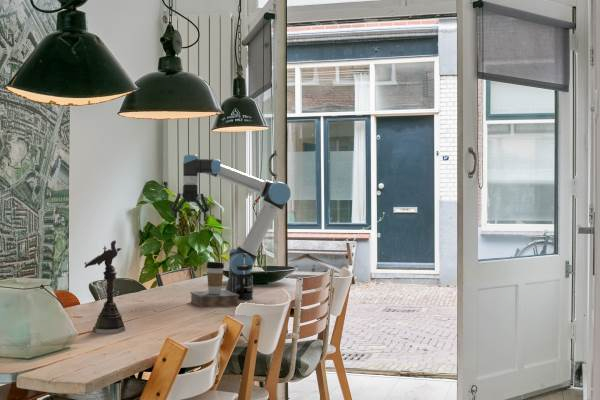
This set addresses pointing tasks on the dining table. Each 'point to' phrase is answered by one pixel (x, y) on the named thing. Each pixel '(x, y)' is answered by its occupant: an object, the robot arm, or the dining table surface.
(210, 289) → the coffee cup
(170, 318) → the dining table surface
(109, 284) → the bird statue
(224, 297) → the walnut stand
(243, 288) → the french press
